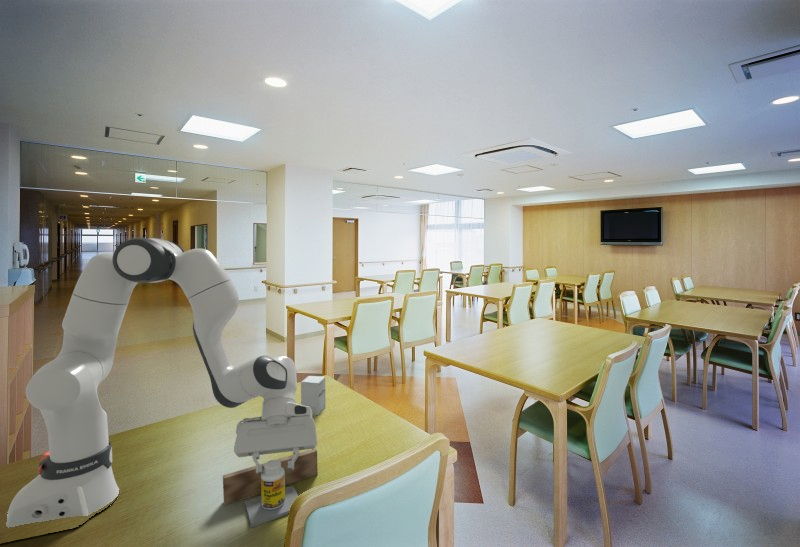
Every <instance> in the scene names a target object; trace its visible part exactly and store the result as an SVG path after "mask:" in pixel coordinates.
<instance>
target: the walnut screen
mask: <svg viewBox="0 0 800 547" xmlns="http://www.w3.org/2000/svg"><path fill="white" fill-rule="evenodd" d="M293 456H294V454H292V455H289V456H285V457H282V458H278V459H276V460H279V461H280V462H281V467H282V468H283V469H284V471H285V486H287V485H291V484H294V483H297V482H299V481H302V480H305V479H309V478H312V477H314V476H318V472H319V471H318V468H319V467H318V450H317V449H316V447H315V448H314V449H307V450H304V451H302V452H299V456H298V458H297V459H296V461H295V462H294V470H288V461H291V460H292V458H293ZM265 463H266V462H264V463H262V464H263V466H264V465H265ZM263 471H264V468H263ZM222 490H223V505H224V506H227V505H229V504H232V503H235V502H239V501H241V500H244V499H247V498H251V497H254V496H256V495H260V494H261V474H256V465H254V466H250V467H247V468H244V469H243V468H242V469H240V470H236V471H233V472H230V473H227V474H223V475H222Z"/></svg>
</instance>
